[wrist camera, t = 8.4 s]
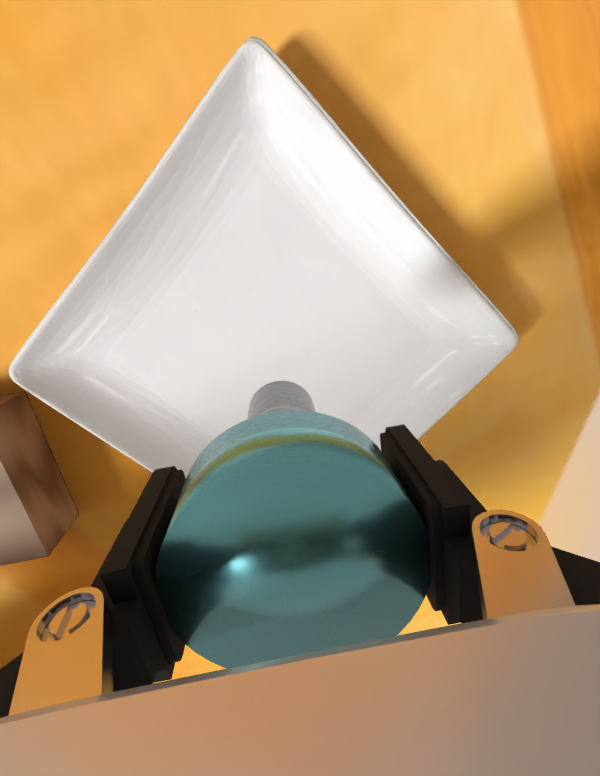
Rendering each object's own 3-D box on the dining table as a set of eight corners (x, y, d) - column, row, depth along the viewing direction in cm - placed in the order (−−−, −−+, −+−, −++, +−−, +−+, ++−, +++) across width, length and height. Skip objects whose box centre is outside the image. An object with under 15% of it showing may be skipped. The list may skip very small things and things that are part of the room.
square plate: (499, 331, 32) (530, 340, 28) (285, 536, 37) (288, 567, 33) (254, 54, 24) (252, 17, 20) (28, 362, 29) (-6, 377, 25)
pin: (352, 456, 18) (437, 650, 9) (231, 478, 18) (196, 698, 9) (337, 336, 16) (427, 435, 7) (200, 360, 16) (115, 493, 7)
